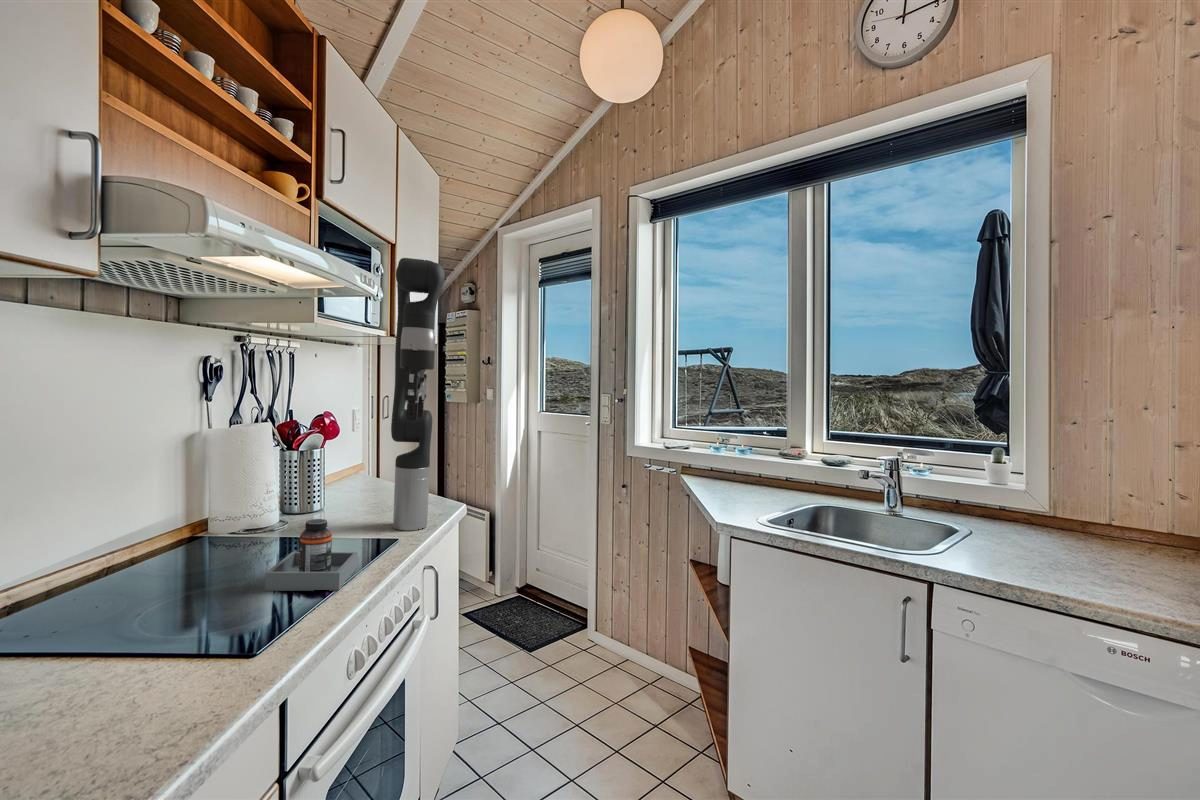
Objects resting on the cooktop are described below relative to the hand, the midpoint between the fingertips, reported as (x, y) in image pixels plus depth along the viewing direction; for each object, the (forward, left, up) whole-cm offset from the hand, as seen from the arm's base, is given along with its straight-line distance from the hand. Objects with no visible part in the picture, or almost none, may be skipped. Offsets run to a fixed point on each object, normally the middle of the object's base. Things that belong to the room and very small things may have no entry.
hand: (415, 418), depth 132 cm
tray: (+12, -17, -33) cm, 39 cm away
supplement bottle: (+12, -17, -32) cm, 39 cm away
